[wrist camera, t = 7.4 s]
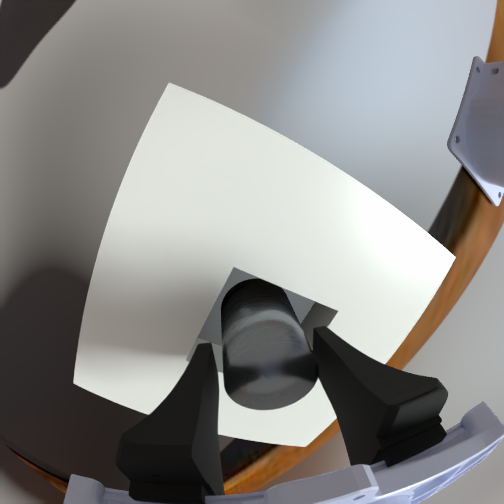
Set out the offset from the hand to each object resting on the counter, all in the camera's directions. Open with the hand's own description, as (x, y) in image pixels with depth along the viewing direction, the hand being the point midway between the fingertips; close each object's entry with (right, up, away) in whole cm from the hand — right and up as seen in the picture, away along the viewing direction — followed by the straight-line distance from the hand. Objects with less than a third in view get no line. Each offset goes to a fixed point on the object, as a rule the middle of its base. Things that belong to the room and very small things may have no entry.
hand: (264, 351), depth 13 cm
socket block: (0, +1, +3) cm, 4 cm away
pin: (0, +1, +3) cm, 4 cm away
